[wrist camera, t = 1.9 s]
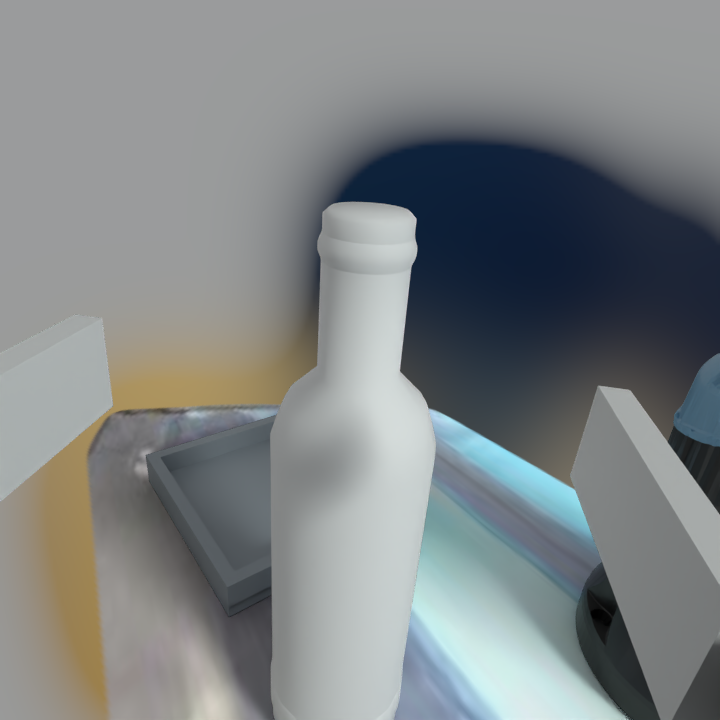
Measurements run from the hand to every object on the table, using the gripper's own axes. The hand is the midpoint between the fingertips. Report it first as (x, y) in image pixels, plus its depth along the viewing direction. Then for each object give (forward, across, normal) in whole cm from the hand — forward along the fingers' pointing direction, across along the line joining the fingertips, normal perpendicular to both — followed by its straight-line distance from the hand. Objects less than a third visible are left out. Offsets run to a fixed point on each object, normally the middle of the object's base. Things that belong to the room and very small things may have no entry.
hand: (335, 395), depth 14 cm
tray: (+26, -8, -26) cm, 38 cm away
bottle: (+9, 0, -26) cm, 28 cm away
